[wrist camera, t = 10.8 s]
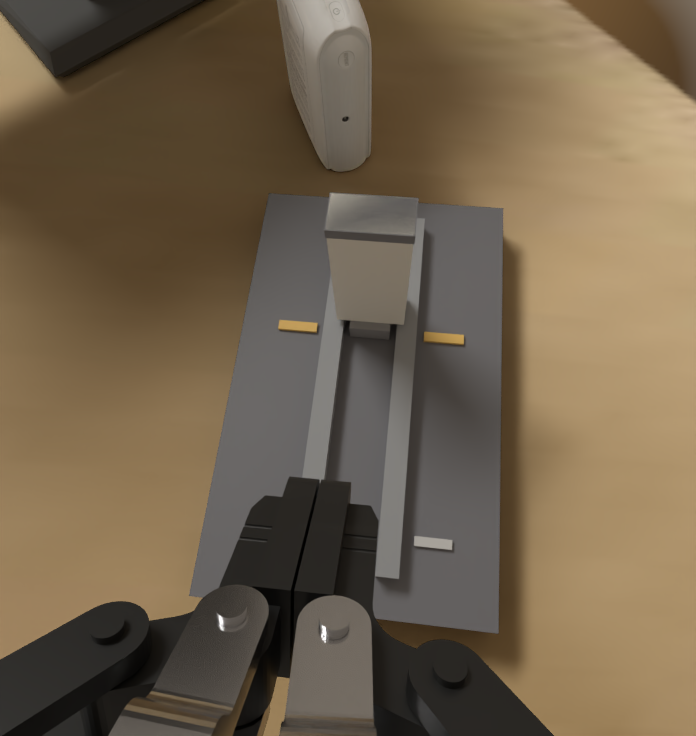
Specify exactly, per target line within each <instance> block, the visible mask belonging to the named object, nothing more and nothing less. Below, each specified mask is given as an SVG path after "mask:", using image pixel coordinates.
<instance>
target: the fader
mask: <svg viewBox="0 0 696 736" xmlns="http://www.w3.org/2000/svg"><path fill="white" fill-rule="evenodd" d="M418 199H419V198H411V197H395V196H380V195H364V194H348V193H332V192H330V194H329V201H328V207H327V214H326V221H325V227H324V233H325V238H326V239H327V246H328V254H329V262H330V269H331V277H332V285H333V293H334V300H335V308H336V316H337V319H338V320H350V327H349V330H350V337H361V338H373V339H385V340H389V335H390V324H399V325H404V319H405V311H406V302H407V294H408V286H409V277H410V269H411V261H412V252H413V244H415V237H416V224H417V211H418Z"/></svg>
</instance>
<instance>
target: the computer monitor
mask: <svg viewBox="0 0 696 736" xmlns="http://www.w3.org/2000/svg"><path fill="white" fill-rule="evenodd" d="M202 1H204V0H0V11H1V12H2V13H3V14H4V16H5V17H6V18H7V19H8V20H9V22H10V23H11V24H12V25H13V26H14V28H15V29H16V30H17V31H18V32H19V34H20V35H21V36H22V37H23V38H24V40H25V41H26V42H27V43H28V44H29V46H30V47H31V48H32V49H33V51H34V52H35V53H36V54H37V55H38V57H39V58H40V59H41V60H42V61H43V63H44V64H45V65H46V66H47V67H48V69H49V70H50V71H51V72H52V73H53V75H54V76H55V77H64V76H67V75H68V74H70V73H72V72H74V71H76V70H78V69H79V68H81V67H83V66H85V65H87V64H88V63H90V62H92V61H94V60H96V59H98V58H99V57H101V56H103V55H105V54H107V53H109V52H110V51H112V50H114V49H116V48H118V47H120V46H121V45H123V44H125V43H127V42H129V41H131V40H132V39H134V38H136V37H138V36H140V35H141V34H143V33H145V32H147V31H149V30H151V29H152V28H154V27H156V26H158V25H160V24H162V23H163V22H165V21H167V20H169V19H171V18H173V17H174V16H176V15H178V14H180V13H182V12H184V11H185V10H187V9H189V8H191V7H193V6H194V5H196V4H198V3H200V2H202Z"/></svg>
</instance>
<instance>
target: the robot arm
mask: <svg viewBox="0 0 696 736" xmlns="http://www.w3.org/2000/svg"><path fill="white" fill-rule="evenodd" d="M350 500H351V482H344V481H334V480H323V479H322V480H321V482H320V480H319V479H312V478H301V477H291V476H290V477H289V478H288V481H287V484H286V487H285V490H284V493H283V496H282V497H278V496H268V495H265V496H264V497H263V498H262V499H261V500H259V501H258V502H257V503H256V504H255V505H254V506H253V507H252V508H251V510H250V512H249V514H248V517H247V519H246V522H245V526H244V527H243V529H242V532H241V534H240V538H239V540H238V541H237V544H236V546H235V549H234V551H233V554H232V556H231V559H230V561H229V564H228V566H227V569H226V571H225V573H224V576H223V578H222V581H221V583H220V586H219V588H218V589H215V590H213V591H212V592H210V593H208V594H207V595H206V596H205V597H204V598H203V599H202V600H201V601H200V602H199V604H198V605H197V607H196V609H195V611H193V612H190V613H188V614H185V615H181V616H176V617H171V618H164V619H158V620H152V621H149V618H148V615H147V613H146V612H145V610H144V609H142V608H141V607H140V606H138V605H136V604H134V603H131V602H123V601H118V602H110V603H106V604H103V605H100V606H97V607H95V608H93V609H91V610H89V611H87V612H86V613H84V614H82V615H80V616H78V617H77V618H75V619H73V620H71V621H69V622H68V623H66V624H64V625H62V626H60V627H59V628H57V629H55V630H53V631H51V632H50V633H48V634H46V635H44V636H42V637H40V638H39V639H37V640H35V641H33V642H31V643H30V644H28V645H26V646H24V647H22V648H21V649H19V650H17V651H15V652H13V653H12V654H10V655H8V656H6V657H4V658H3V659H1V660H0V736H263V734H264V730H265V727H266V724H267V721H268V718H269V713H270V702H271V699H272V696H273V691H274V687H275V683H276V679H277V677H286V678H290V681H289V689H288V696H287V704H286V712H285V718H284V722H282V724H281V728H280V734H279V736H554V735H553V734H552V733H551V732H550V731H549V730H548V729H547V728H546V727H545V726H544V725H543V724H542V723H541V722H540V720H539V719H538V718H537V717H536V716H535V715H534V714H533V713H532V712H531V711H530V710H529V709H528V708H527V707H526V706H525V705H524V704H523V703H522V701H521V700H520V699H519V698H518V697H517V696H516V695H515V694H514V693H513V692H512V691H511V690H510V689H509V688H508V687H507V686H506V685H505V684H504V682H503V681H502V680H501V679H500V678H499V677H498V676H497V675H496V674H495V673H494V672H493V671H492V670H491V669H490V668H489V667H488V666H487V665H486V663H485V662H484V661H483V660H482V659H481V658H480V657H479V656H478V655H477V654H476V653H475V652H474V651H472V650H471V649H469V648H468V647H466V646H464V645H462V644H460V643H457V642H455V641H450V640H433V641H429V642H426V643H424V644H422V645H421V646H419V647H418V648H417V649H415V648H413V647H411V646H408V645H406V644H404V643H401V642H399V641H397V640H395V639H394V638H392V637H391V636H389V635H388V634H387V633H386V632H385V631H384V630H383V629H382V628H381V627H380V626H379V624H378V622H377V621H376V618H375V616H374V612H373V593H374V579H375V565H376V551H377V537H378V523H379V520H378V519H377V517H376V515H375V513H374V511H373V509H372V507H371V506H370V505H360V504H350Z"/></svg>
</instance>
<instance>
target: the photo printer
mask: <svg viewBox="0 0 696 736" xmlns="http://www.w3.org/2000/svg"><path fill="white" fill-rule="evenodd" d="M276 1H277V7H278V13H279V19H280V26H281V32H282V39H283V45H284V51H285V58H286V64H287V71H288V77H289V83H290V88H291V92H292V95H293V98H294V101H295V103H296V106H297V109H298V111H299V113H300V116H301V118H302V121H303V123H304V125H305V128H306V130H307V132H308V135H309V137H310V139H311V141H312V144H313V146H314V148H315V150H316V152H317V154H318V156H319V158H320V160H321V162H322V163H323V165H324V166H325V167H326V168H327V169H332V170H333V171H339V172H343V171H350V170H353V169H355V168H357V167H359V166H360V165H361V164H363V162H364V161H365V159H366V158H367V157H369V156H370V153H371V116H372V46H371V38H370V33H369V28H368V24H367V21H366V18H365V15H364V12H363V10H362V7H361V5H360V2H359V0H276Z"/></svg>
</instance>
